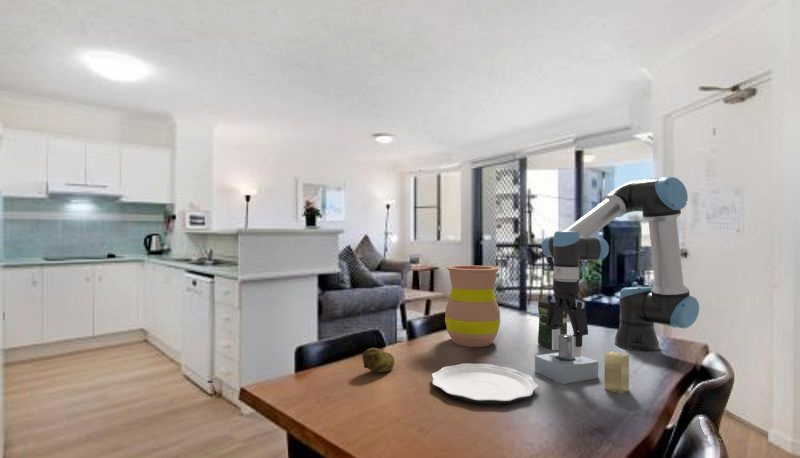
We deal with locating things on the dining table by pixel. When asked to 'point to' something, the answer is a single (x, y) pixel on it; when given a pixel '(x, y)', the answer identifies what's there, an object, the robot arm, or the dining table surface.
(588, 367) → the bore block
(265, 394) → the dining table surface
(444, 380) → the plate
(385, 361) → the potato
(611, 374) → the square bit
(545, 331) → the coffee jar
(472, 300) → the vase
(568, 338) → the round bit
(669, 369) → the dining table surface
